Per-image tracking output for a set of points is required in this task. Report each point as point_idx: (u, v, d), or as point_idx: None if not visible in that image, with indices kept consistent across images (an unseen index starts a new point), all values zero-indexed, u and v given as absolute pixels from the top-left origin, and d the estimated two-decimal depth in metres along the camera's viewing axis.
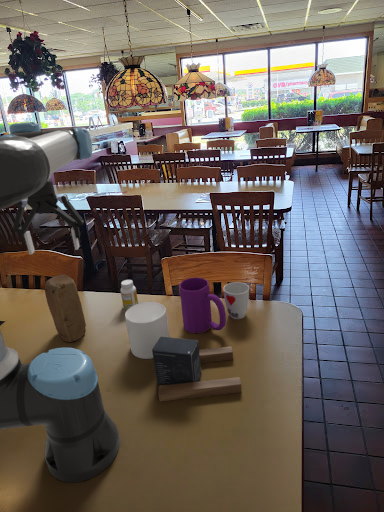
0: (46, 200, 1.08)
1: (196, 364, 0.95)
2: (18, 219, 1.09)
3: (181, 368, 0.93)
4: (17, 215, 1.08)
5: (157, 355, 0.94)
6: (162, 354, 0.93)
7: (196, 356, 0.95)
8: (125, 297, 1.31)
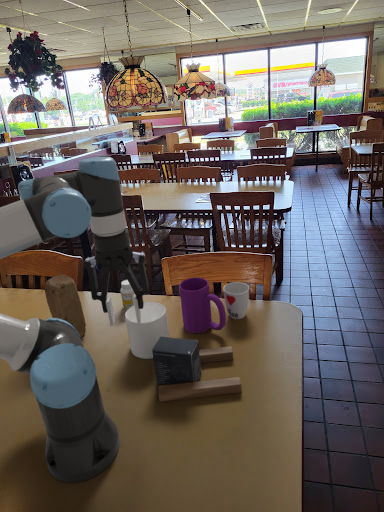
0: (121, 255, 0.84)
1: (196, 364, 0.95)
2: (93, 283, 0.86)
3: (181, 368, 0.93)
4: (90, 279, 0.85)
5: (157, 355, 0.94)
6: (162, 354, 0.93)
7: (196, 356, 0.95)
8: (125, 297, 1.31)
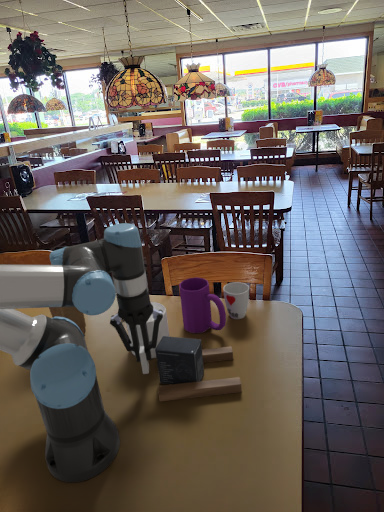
0: (143, 312, 0.90)
1: (199, 363, 0.95)
2: (124, 337, 0.92)
3: (184, 367, 0.93)
4: (120, 334, 0.91)
5: (160, 354, 0.94)
6: (165, 353, 0.93)
7: (199, 355, 0.95)
8: None
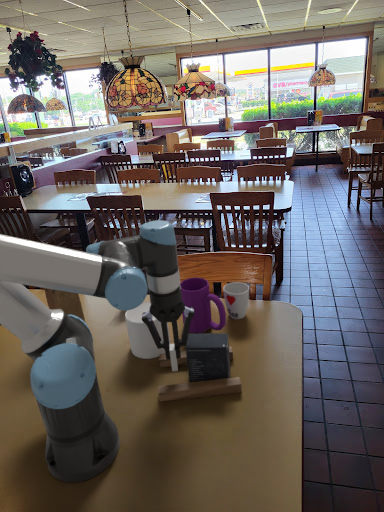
0: (175, 310, 0.90)
1: None
2: (155, 334, 0.92)
3: (216, 362, 0.94)
4: (151, 331, 0.92)
5: (191, 352, 0.94)
6: (196, 350, 0.94)
7: (228, 349, 0.96)
8: None
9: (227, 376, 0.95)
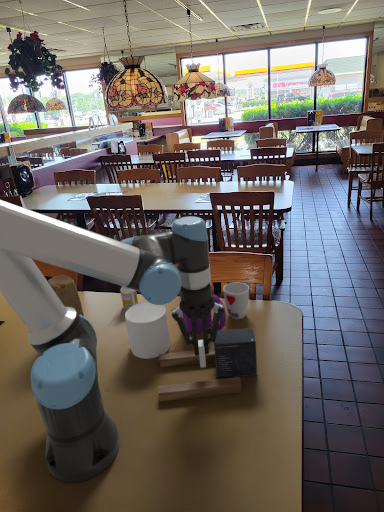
0: (205, 306, 0.90)
1: None
2: (184, 330, 0.92)
3: (244, 357, 0.95)
4: (181, 327, 0.92)
5: (219, 348, 0.94)
6: (225, 346, 0.94)
7: None
8: (125, 297, 1.31)
9: (255, 370, 0.97)
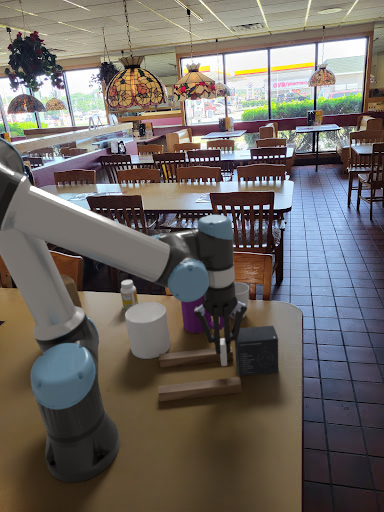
0: (228, 304, 0.90)
1: None
2: (207, 329, 0.92)
3: (266, 354, 0.95)
4: (203, 325, 0.92)
5: (242, 346, 0.94)
6: (247, 343, 0.94)
7: None
8: (125, 297, 1.31)
9: (277, 367, 0.97)
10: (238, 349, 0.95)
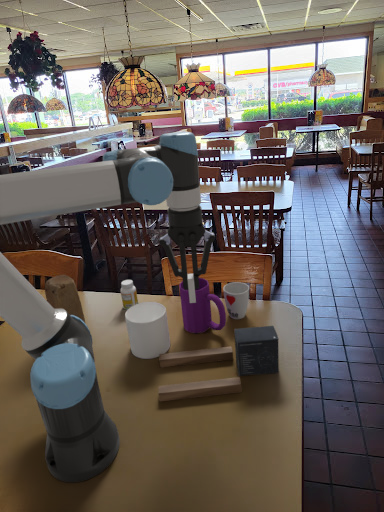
0: (195, 232, 0.84)
1: None
2: (172, 260, 0.87)
3: (266, 354, 0.95)
4: (169, 256, 0.86)
5: (242, 346, 0.94)
6: (247, 344, 0.94)
7: None
8: (125, 297, 1.31)
9: (277, 367, 0.97)
10: (238, 349, 0.95)
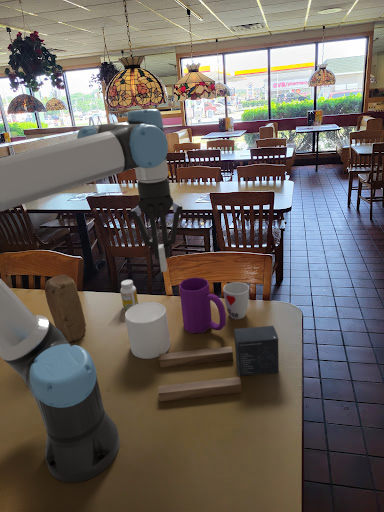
0: (163, 203, 0.91)
1: None
2: (143, 230, 0.93)
3: (266, 354, 0.95)
4: (140, 227, 0.93)
5: (242, 346, 0.94)
6: (247, 344, 0.94)
7: None
8: (125, 297, 1.31)
9: (277, 367, 0.97)
10: (238, 349, 0.95)
